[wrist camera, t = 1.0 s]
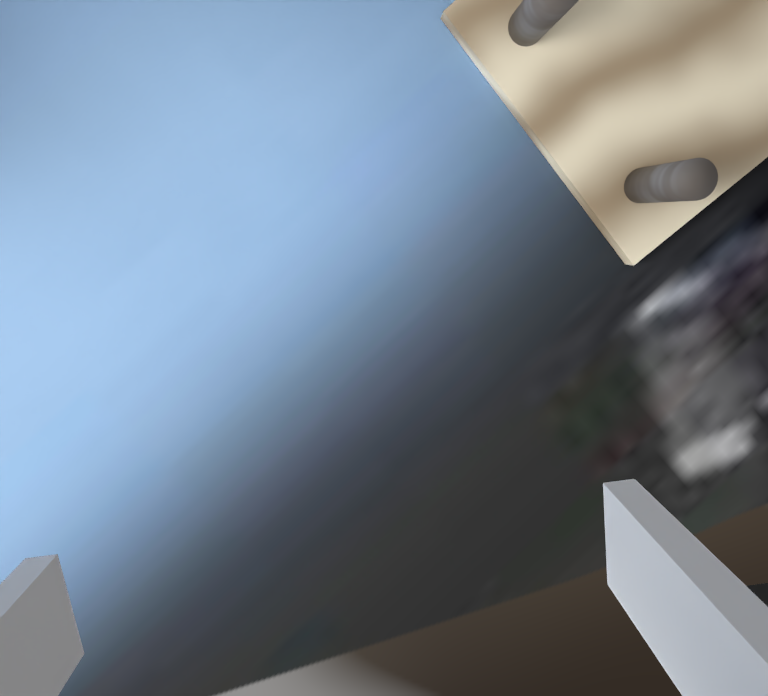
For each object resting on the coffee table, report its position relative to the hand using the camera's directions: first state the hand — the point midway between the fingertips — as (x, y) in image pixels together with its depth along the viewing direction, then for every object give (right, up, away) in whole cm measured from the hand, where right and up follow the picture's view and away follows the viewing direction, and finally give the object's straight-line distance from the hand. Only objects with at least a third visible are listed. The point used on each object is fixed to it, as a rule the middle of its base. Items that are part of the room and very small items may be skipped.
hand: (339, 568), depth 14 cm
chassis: (+18, +23, +20) cm, 35 cm away
